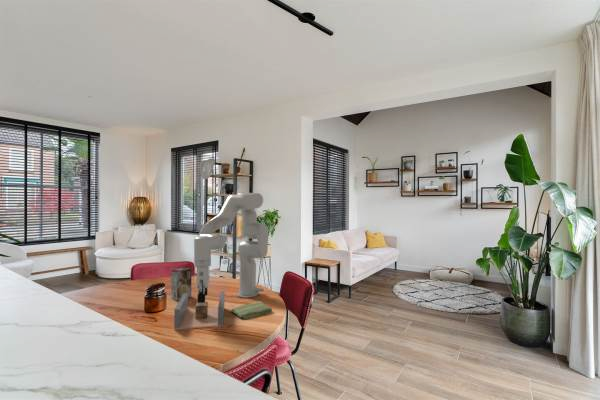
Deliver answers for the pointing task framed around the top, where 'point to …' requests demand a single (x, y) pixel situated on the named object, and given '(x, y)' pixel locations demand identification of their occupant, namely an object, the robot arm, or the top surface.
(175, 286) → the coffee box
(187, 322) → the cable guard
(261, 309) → the washcloth
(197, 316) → the walnut block
